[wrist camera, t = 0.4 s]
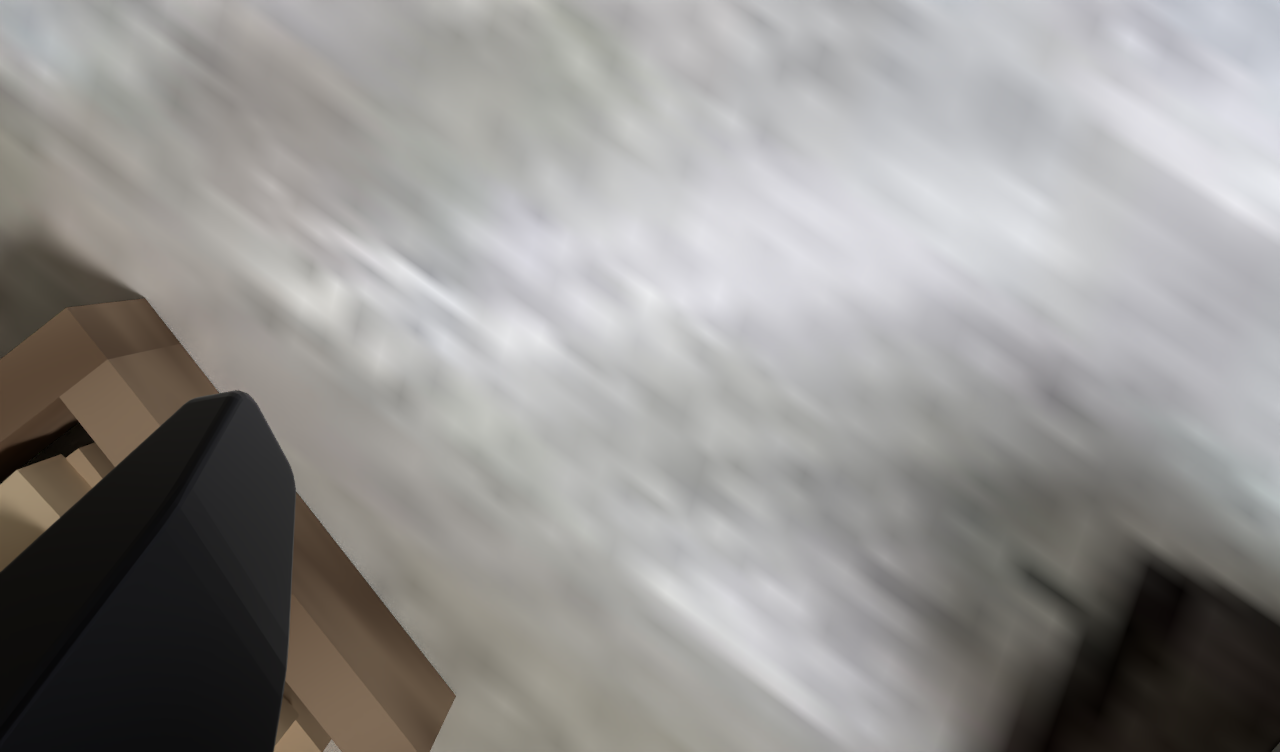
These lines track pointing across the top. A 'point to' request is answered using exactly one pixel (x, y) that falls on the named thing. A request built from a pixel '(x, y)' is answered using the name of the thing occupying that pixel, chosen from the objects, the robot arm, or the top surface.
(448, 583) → the top surface
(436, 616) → the top surface
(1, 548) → the offcut stack
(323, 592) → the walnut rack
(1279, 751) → the canned tomato
